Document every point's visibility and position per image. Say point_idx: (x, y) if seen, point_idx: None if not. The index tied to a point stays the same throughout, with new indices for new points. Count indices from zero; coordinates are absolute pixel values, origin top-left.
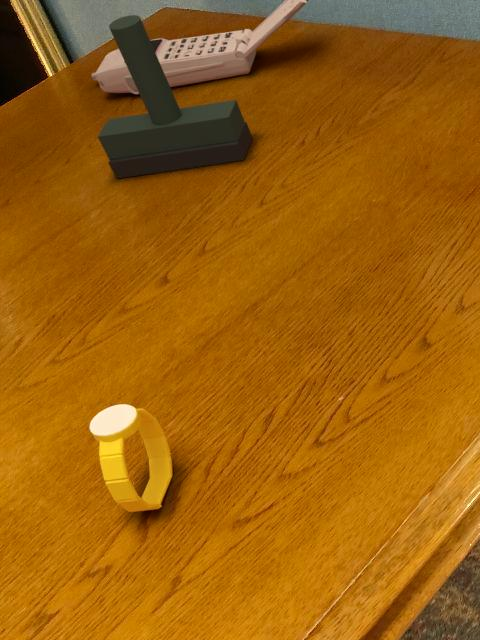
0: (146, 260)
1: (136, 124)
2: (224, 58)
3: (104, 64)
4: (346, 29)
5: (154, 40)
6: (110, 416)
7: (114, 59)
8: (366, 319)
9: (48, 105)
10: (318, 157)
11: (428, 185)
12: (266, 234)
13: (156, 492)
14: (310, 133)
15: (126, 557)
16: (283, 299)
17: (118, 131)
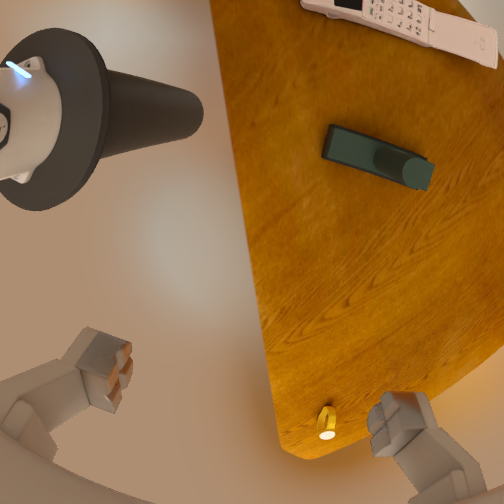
0: (339, 278)
1: (360, 155)
2: (417, 40)
3: None
4: None
5: None
6: (326, 434)
7: None
8: (417, 360)
9: None
10: (451, 213)
11: (479, 277)
12: (405, 284)
13: (325, 413)
14: (454, 176)
15: (312, 424)
16: (395, 339)
17: (345, 159)
